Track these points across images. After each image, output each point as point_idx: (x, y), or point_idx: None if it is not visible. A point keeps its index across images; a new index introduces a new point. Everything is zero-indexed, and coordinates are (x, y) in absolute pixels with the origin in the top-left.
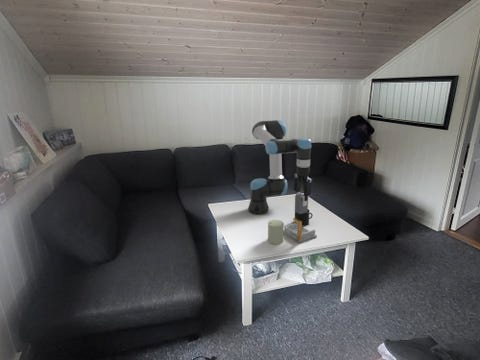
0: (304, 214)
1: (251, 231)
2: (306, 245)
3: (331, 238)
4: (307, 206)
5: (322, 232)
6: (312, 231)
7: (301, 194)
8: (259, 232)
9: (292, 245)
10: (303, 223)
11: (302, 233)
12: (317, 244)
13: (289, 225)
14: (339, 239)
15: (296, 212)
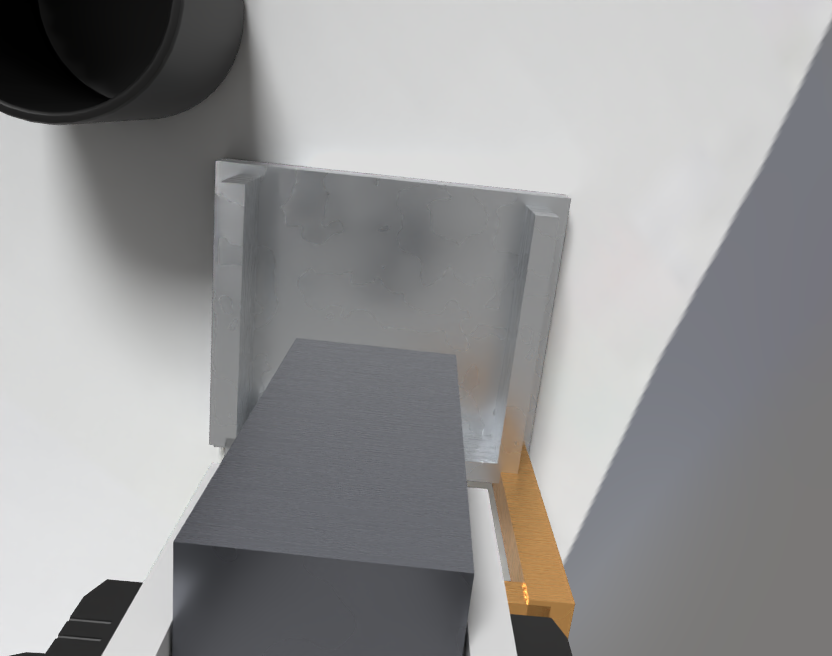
0: (179, 53)
1: (7, 641)
2: (600, 430)
3: (715, 67)
4: (459, 409)
5: (534, 17)
6: (549, 268)
7: (199, 625)
8: (73, 597)
9: (500, 533)
10: (221, 69)
11: (507, 422)
12: (672, 324)
13: (234, 384)
14: (807, 4)
15: (42, 122)
